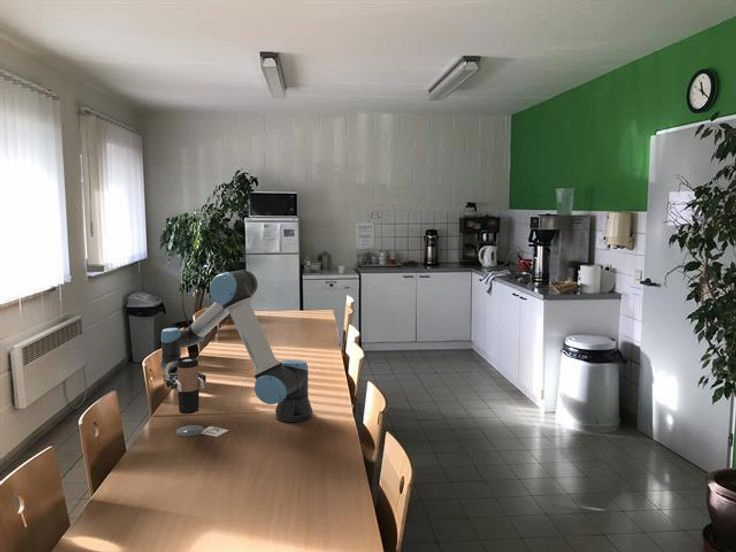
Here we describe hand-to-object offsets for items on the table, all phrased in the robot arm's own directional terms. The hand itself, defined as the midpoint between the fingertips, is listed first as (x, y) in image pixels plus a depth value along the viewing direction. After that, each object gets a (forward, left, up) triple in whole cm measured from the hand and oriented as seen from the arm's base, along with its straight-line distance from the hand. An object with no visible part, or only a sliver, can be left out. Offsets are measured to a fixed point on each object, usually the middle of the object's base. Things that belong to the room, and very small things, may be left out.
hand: (191, 386), depth 218 cm
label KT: (-4, -7, -19) cm, 20 cm away
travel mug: (+4, -3, -11) cm, 12 cm away
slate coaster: (+4, -3, -19) cm, 20 cm away
